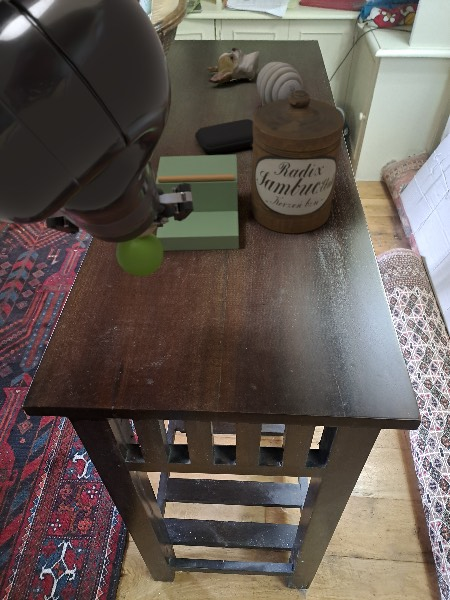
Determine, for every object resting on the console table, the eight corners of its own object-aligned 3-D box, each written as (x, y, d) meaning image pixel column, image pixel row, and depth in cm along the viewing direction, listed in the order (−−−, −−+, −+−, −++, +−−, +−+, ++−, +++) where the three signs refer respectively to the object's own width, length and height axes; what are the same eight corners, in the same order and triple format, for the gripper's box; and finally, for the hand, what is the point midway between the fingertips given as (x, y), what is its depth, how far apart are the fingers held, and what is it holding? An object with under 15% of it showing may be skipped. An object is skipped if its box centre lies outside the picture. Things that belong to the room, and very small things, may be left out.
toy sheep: (276, 94, 122) (279, 49, 114) (316, 118, 112) (322, 70, 104) (243, 104, 119) (243, 58, 111) (281, 129, 108) (284, 81, 100)
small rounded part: (112, 259, 57) (88, 174, 48) (164, 252, 58) (149, 167, 49) (113, 290, 53) (87, 203, 44) (168, 282, 54) (153, 195, 45)
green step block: (158, 251, 80) (149, 202, 72) (166, 198, 90) (159, 151, 83) (238, 249, 79) (238, 200, 72) (237, 196, 90) (236, 149, 83)
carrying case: (207, 161, 100) (269, 148, 103) (206, 148, 97) (270, 135, 100) (193, 139, 106) (251, 127, 110) (192, 126, 104) (252, 115, 107)
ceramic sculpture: (262, 51, 119) (205, 58, 119) (263, 85, 126) (209, 92, 126) (256, 38, 127) (203, 45, 127) (257, 71, 133) (206, 77, 133)
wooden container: (252, 235, 82) (254, 114, 66) (250, 188, 92) (251, 74, 76) (335, 233, 81) (358, 112, 65) (324, 187, 91) (341, 72, 75)
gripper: (193, 130, 36) (188, 181, 53) (4, 150, 35) (61, 196, 51) (206, 225, 36) (197, 246, 53) (19, 248, 35) (71, 262, 52)
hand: (130, 221), depth 52 cm, fingers closed on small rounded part, 6 cm apart
